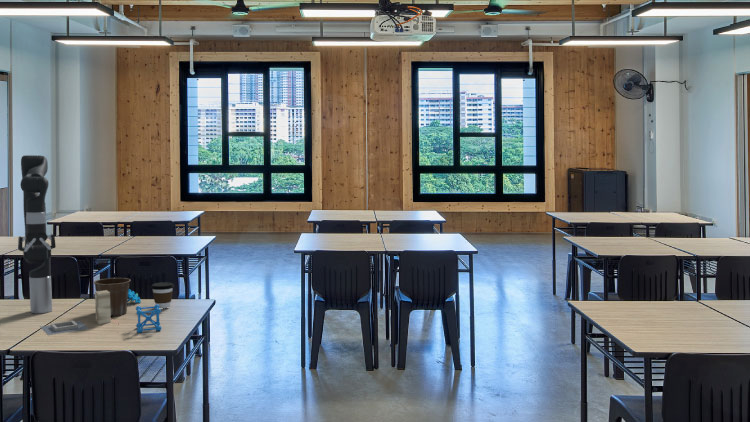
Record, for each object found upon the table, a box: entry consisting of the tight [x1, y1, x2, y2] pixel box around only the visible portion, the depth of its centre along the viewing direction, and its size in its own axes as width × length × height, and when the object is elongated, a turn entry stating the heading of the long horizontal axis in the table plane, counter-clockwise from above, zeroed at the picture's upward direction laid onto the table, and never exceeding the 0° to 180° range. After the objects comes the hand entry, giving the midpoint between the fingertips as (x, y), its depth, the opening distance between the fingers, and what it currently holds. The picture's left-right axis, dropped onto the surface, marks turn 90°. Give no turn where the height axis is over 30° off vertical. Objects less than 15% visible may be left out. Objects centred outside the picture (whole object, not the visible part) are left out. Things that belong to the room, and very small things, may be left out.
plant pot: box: [93, 277, 131, 317], centre depth 295 cm, size 16×16×16 cm
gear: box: [127, 288, 142, 304], centre depth 317 cm, size 11×6×10 cm
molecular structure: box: [135, 304, 162, 334], centre depth 269 cm, size 10×10×10 cm
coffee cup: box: [150, 281, 175, 308], centre depth 307 cm, size 11×11×12 cm
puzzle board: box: [40, 320, 90, 336], centre depth 267 cm, size 16×16×2 cm
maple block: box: [94, 290, 112, 325], centre depth 277 cm, size 5×5×14 cm
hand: (37, 259), depth 270 cm, fingers open, 8 cm apart
